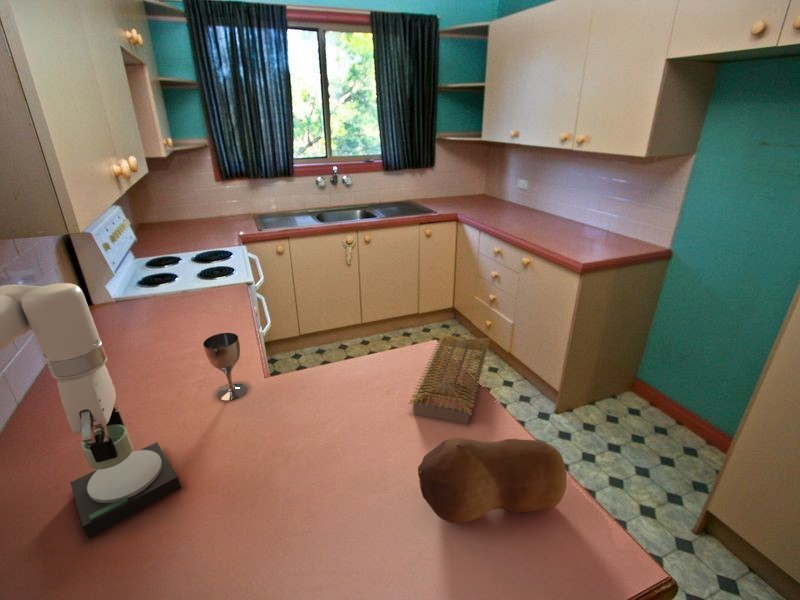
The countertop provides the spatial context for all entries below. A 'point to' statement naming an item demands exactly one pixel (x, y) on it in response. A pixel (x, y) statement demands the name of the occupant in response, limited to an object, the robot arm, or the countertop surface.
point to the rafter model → (449, 387)
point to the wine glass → (225, 361)
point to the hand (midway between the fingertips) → (111, 444)
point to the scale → (123, 489)
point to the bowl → (121, 445)
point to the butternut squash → (491, 477)
